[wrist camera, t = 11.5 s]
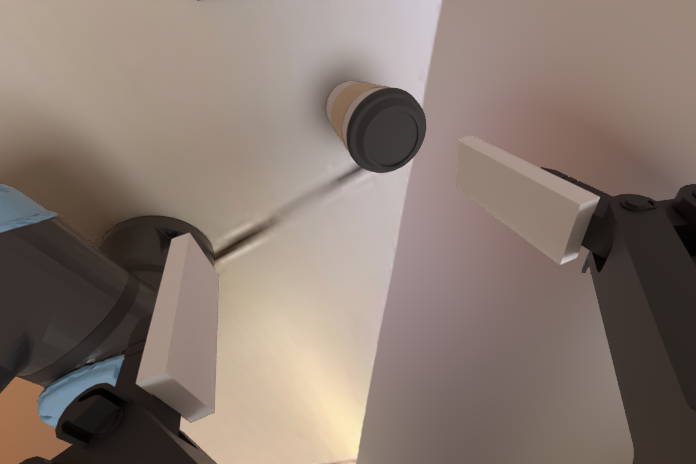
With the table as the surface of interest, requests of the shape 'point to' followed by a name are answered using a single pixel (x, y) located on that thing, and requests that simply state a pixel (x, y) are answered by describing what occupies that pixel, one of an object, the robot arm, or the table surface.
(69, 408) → the robot arm
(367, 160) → the coffee cup
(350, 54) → the table surface
